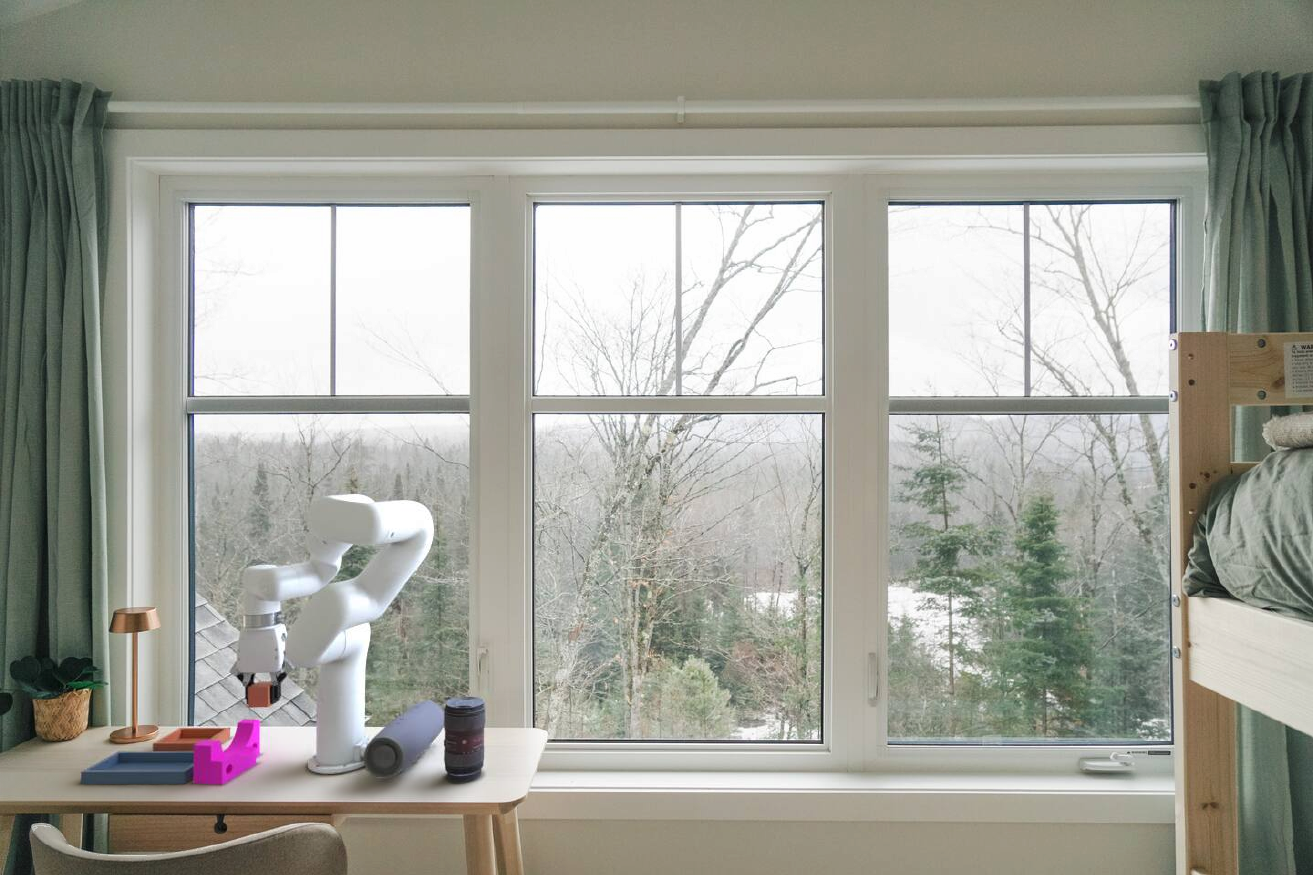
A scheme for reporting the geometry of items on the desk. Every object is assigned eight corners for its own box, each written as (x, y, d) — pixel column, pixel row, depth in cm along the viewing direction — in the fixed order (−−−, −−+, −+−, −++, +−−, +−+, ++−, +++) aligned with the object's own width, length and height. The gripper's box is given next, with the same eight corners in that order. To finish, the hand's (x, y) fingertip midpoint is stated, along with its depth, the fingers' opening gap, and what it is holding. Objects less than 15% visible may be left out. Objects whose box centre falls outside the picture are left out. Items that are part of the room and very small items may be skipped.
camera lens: (484, 782, 153) (485, 706, 154) (442, 786, 152) (442, 709, 152) (485, 766, 161) (485, 694, 162) (445, 769, 160) (445, 696, 160)
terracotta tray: (230, 737, 178) (230, 727, 178) (205, 754, 168) (206, 743, 168) (179, 738, 178) (179, 727, 178) (152, 754, 168) (152, 743, 168)
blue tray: (215, 762, 164) (215, 750, 164) (184, 783, 153) (184, 771, 153) (117, 762, 164) (118, 751, 164) (80, 783, 153) (80, 771, 153)
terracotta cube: (278, 700, 175) (278, 680, 176) (268, 707, 171) (268, 686, 171) (258, 701, 175) (258, 681, 176) (248, 707, 171) (247, 687, 171)
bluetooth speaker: (407, 741, 175) (408, 697, 175) (447, 742, 174) (447, 698, 175) (360, 784, 153) (360, 733, 153) (405, 786, 152) (405, 734, 152)
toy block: (222, 784, 152) (222, 746, 153) (193, 782, 153) (193, 744, 154) (270, 755, 167) (270, 720, 168) (243, 753, 168) (244, 719, 168)
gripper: (307, 616, 178) (308, 696, 177) (233, 618, 178) (234, 698, 177) (291, 622, 170) (293, 706, 170) (215, 625, 170) (216, 708, 169)
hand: (263, 701), depth 173 cm, fingers closed on terracotta cube, 4 cm apart
